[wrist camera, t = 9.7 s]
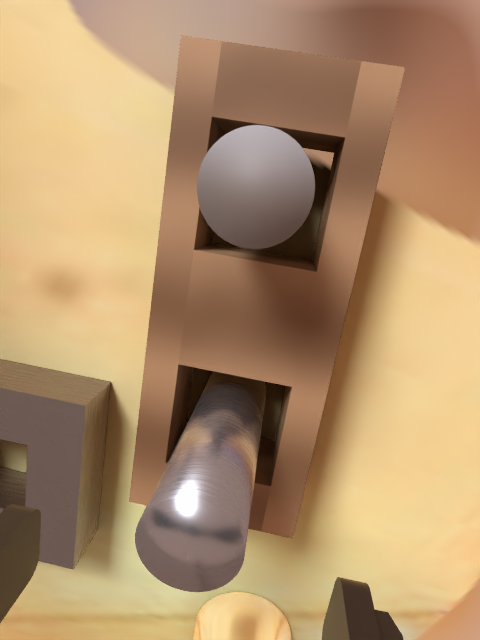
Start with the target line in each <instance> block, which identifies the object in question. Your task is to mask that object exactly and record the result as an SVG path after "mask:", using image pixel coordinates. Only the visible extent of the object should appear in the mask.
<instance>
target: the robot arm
mask: <svg viewBox="0 0 480 640" xmlns="http://www.w3.org/2000/svg"><path fill="white" fill-rule="evenodd" d="M40 529H41V512H40V510H38V509H34V508H29V507H25V506H20V505H16V504H10V505H8V506H7V507H6V508H5V509H4V510H3V511H2V512H1V513H0V623H1V621H2V620H3V619H4V617H5V616H6V614H7V613H8V611H9V610H10V608H11V607H12V606H13V604H14V603H15V601H16V600H17V598H18V597H19V595H20V594H21V593H22V591H23V590H24V588H25V587H26V585H27V584H28V582H29V581H30V579H31V578H32V576H33V574H34V571H35V569H36V566H37V563H38V560H39V554H40ZM322 640H403V637H402V634H401V633H400V631H399V629H398V628H397V626H396V625H395V623H394V621H393V620H392V618H391V617H390V615H389V613H387V612H383V611H378V610H374V606H373V601H372V597H371V592H370V588H369V586H368V584H367V583H362V582H358V581H353V580H349V579H344V578H340V577H338V578H337V579H336V581H335V585H334V588H333V592H332V595H331V599H330V602H329V606H328V610H327V613H326V617H325V620H324V625H323V633H322Z"/></svg>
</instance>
